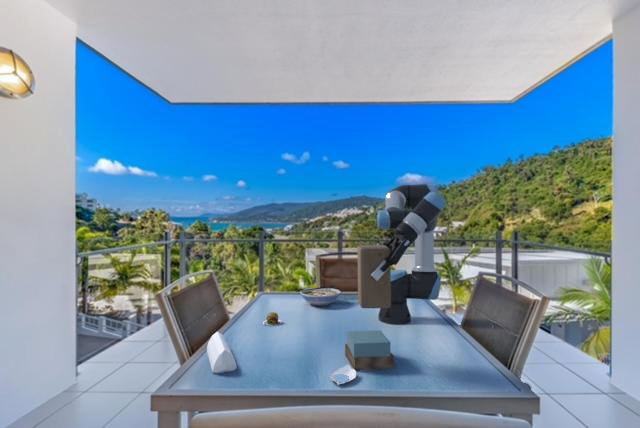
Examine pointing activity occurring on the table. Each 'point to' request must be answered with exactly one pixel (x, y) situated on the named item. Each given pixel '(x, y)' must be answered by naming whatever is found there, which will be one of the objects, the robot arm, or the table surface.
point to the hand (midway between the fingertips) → (367, 275)
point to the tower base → (369, 361)
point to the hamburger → (272, 319)
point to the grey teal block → (368, 344)
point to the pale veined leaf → (345, 371)
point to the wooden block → (368, 287)
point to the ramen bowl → (320, 295)
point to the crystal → (220, 354)
